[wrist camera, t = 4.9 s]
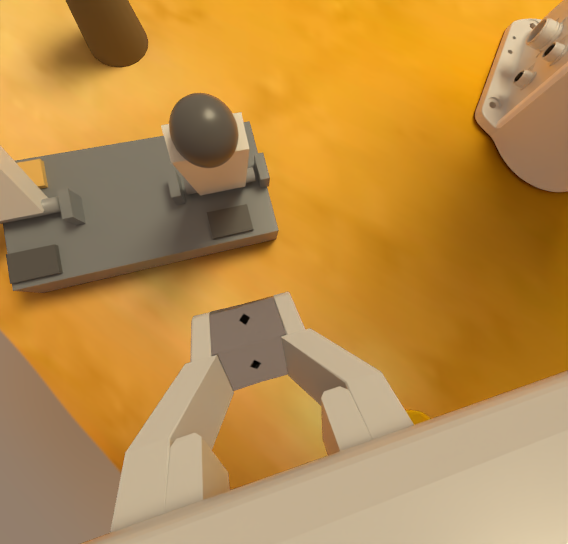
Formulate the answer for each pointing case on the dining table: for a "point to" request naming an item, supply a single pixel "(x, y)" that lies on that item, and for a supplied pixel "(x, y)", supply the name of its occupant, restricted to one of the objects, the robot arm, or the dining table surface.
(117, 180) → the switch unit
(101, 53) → the brown pawn
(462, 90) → the dining table surface
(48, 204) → the lever
